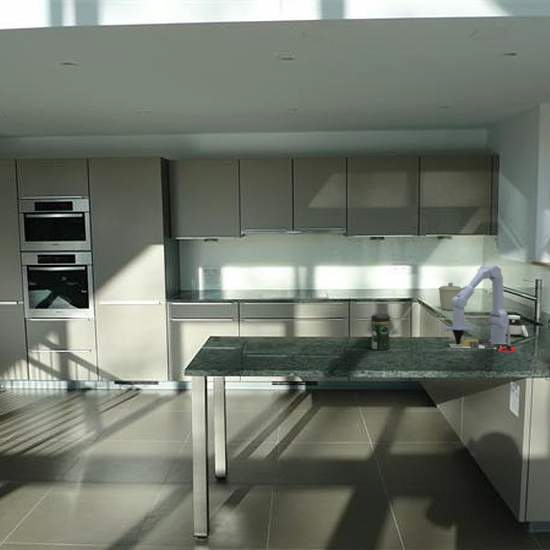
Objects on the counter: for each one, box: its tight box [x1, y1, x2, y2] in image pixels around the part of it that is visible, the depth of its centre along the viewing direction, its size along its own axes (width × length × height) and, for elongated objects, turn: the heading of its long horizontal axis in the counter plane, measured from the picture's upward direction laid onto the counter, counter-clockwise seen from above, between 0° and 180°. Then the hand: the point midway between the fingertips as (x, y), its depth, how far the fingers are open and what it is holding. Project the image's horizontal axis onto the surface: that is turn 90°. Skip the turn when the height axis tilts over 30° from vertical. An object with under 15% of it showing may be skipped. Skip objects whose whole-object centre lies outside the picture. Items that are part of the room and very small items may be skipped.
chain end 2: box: [481, 340, 497, 349], centre depth 299 cm, size 8×6×2 cm
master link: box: [461, 338, 479, 347], centre depth 300 cm, size 3×8×4 cm, turn 80°
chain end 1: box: [470, 342, 480, 349], centre depth 300 cm, size 8×4×2 cm, turn 170°
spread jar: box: [505, 314, 529, 338], centre depth 328 cm, size 12×11×12 cm
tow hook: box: [497, 326, 517, 354], centre depth 289 cm, size 8×13×9 cm
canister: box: [438, 282, 463, 311], centre depth 431 cm, size 18×18×21 cm
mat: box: [448, 343, 498, 350], centre depth 301 cm, size 9×23×1 cm, turn 80°
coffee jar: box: [370, 313, 391, 351], centre depth 298 cm, size 10×8×19 cm
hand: (457, 344), depth 302 cm, fingers closed
